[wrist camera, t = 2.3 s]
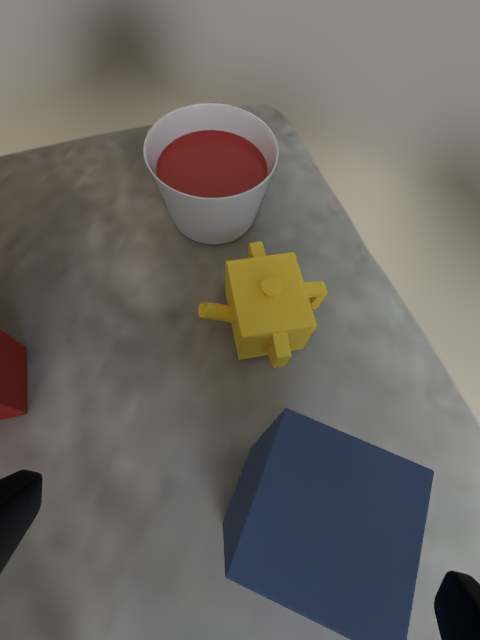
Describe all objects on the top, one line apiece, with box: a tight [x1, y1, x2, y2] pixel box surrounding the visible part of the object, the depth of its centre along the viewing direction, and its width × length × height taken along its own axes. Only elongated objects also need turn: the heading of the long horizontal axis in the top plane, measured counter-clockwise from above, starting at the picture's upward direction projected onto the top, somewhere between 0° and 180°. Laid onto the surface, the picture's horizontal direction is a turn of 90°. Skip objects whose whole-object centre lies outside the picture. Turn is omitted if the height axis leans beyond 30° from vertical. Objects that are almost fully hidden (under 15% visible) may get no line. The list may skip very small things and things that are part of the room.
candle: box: [143, 103, 279, 245], centre depth 26 cm, size 9×9×6 cm
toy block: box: [198, 241, 328, 368], centre depth 23 cm, size 8×8×6 cm
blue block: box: [223, 408, 434, 640], centre depth 15 cm, size 4×4×12 cm
